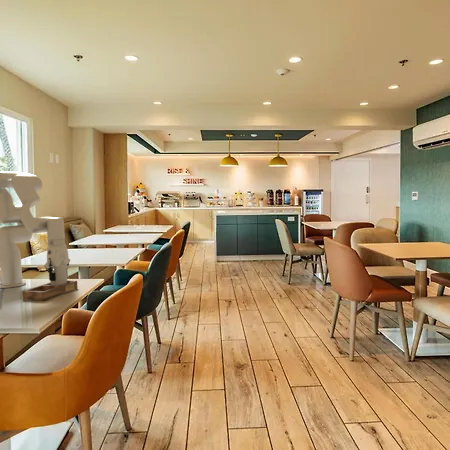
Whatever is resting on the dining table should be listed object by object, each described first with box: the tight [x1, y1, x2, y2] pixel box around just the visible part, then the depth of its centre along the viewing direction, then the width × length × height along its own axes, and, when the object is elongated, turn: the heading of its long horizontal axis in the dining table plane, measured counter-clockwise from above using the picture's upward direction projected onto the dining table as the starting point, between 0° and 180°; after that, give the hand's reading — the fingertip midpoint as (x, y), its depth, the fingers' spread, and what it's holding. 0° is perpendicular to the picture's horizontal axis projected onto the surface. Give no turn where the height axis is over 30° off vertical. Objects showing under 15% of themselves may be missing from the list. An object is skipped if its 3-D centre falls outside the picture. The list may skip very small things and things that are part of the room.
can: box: [49, 262, 68, 286], centre depth 175 cm, size 8×8×12 cm
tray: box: [22, 279, 78, 302], centre depth 170 cm, size 12×22×4 cm, turn 164°
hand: (58, 278), depth 175 cm, fingers closed on can, 7 cm apart
